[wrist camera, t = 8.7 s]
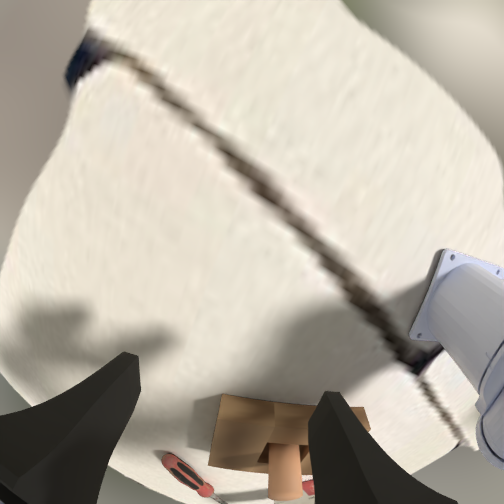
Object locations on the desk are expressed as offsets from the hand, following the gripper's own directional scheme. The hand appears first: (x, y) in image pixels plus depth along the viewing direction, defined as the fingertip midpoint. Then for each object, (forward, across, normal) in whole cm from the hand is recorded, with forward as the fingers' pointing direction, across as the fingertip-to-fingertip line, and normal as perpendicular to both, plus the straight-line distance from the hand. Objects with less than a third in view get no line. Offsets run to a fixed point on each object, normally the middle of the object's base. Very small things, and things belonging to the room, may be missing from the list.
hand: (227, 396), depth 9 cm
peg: (+10, -7, +16) cm, 20 cm away
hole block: (+10, -7, +16) cm, 20 cm away
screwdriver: (+10, -1, +36) cm, 37 cm away
